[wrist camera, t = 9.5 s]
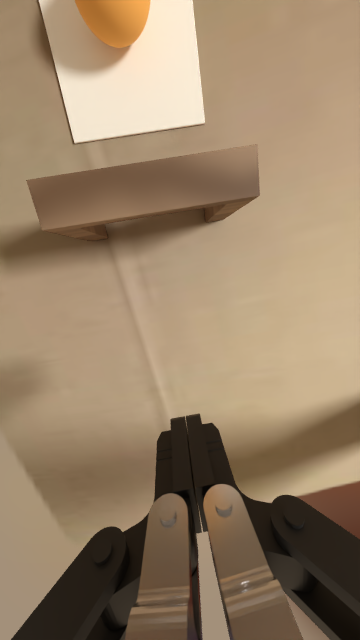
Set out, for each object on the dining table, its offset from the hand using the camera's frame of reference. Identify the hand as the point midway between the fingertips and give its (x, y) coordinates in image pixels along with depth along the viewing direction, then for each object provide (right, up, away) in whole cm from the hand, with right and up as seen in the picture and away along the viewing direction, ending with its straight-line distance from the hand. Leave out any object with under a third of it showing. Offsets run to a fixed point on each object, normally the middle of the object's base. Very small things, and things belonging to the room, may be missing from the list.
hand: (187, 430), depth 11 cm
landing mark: (-5, +30, +9) cm, 32 cm away
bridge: (-3, +17, +13) cm, 21 cm away
